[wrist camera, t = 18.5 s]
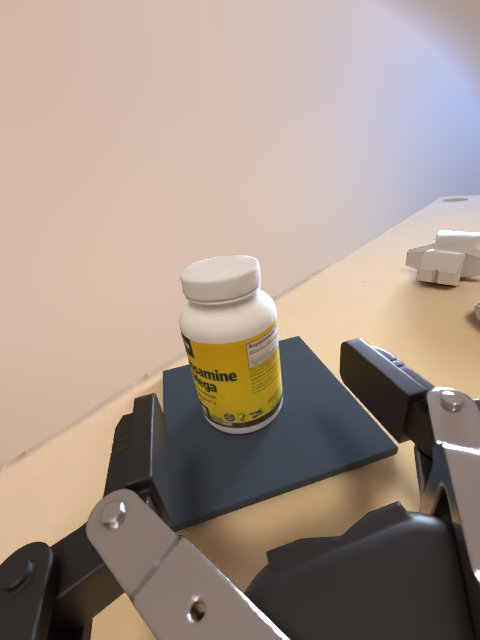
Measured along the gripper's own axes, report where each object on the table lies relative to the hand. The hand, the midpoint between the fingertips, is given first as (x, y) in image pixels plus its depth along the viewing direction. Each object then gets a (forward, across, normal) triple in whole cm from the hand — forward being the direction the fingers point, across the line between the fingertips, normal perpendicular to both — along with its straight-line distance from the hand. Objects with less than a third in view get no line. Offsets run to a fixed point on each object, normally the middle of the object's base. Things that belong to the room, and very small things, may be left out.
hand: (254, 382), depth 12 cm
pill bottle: (+7, 0, +8) cm, 11 cm away
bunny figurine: (+21, -34, +9) cm, 41 cm away
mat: (+7, -1, +8) cm, 11 cm away
